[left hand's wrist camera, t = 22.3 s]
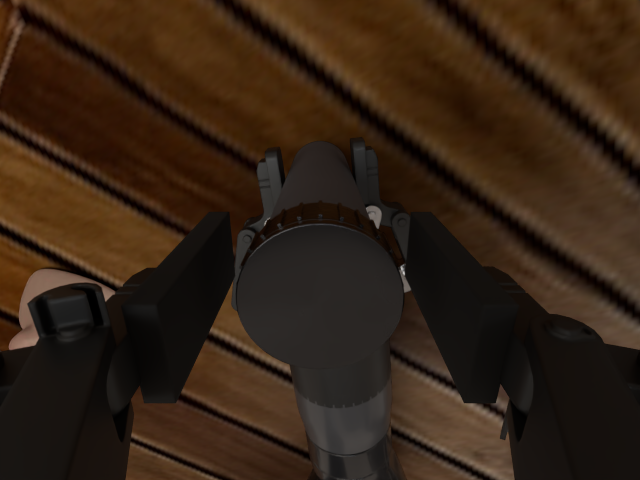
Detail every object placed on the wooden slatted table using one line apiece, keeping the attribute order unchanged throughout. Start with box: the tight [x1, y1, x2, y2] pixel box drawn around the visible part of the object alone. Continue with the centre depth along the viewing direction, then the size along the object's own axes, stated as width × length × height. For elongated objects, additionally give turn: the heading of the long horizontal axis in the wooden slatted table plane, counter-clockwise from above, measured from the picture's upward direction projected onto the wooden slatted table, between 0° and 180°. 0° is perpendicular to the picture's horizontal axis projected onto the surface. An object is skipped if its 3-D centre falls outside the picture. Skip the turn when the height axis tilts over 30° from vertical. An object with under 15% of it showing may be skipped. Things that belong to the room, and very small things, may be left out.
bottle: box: [270, 141, 370, 220], centre depth 20 cm, size 4×4×19 cm
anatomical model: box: [9, 269, 115, 350], centre depth 32 cm, size 13×4×12 cm
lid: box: [236, 200, 404, 369], centre depth 11 cm, size 5×5×2 cm
